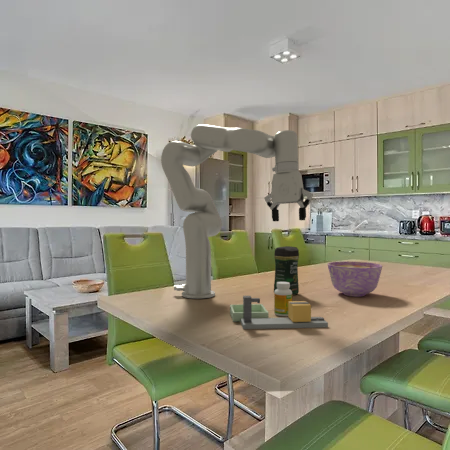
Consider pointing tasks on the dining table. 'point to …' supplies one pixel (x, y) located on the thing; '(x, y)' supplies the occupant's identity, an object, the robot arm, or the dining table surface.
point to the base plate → (283, 323)
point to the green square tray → (257, 312)
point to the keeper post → (248, 308)
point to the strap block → (299, 311)
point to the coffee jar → (287, 267)
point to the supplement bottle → (282, 298)
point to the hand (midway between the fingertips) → (288, 220)
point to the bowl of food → (354, 277)
